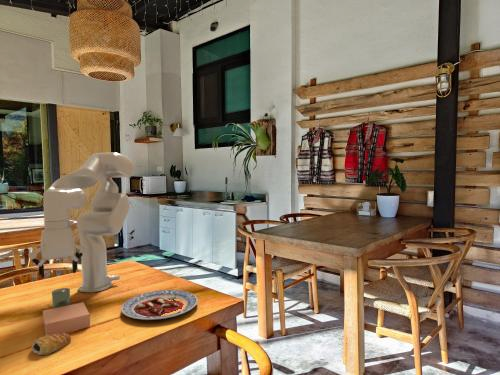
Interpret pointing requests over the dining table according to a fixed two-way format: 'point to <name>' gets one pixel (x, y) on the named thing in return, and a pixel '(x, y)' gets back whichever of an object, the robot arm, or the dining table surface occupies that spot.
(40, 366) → the dining table surface
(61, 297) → the tea tin
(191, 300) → the ceramic plate
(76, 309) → the terracotta stand
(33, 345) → the pastry
